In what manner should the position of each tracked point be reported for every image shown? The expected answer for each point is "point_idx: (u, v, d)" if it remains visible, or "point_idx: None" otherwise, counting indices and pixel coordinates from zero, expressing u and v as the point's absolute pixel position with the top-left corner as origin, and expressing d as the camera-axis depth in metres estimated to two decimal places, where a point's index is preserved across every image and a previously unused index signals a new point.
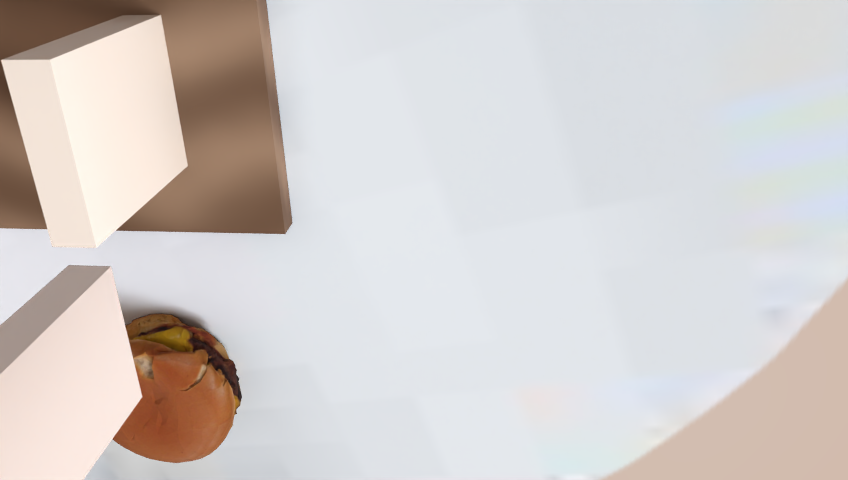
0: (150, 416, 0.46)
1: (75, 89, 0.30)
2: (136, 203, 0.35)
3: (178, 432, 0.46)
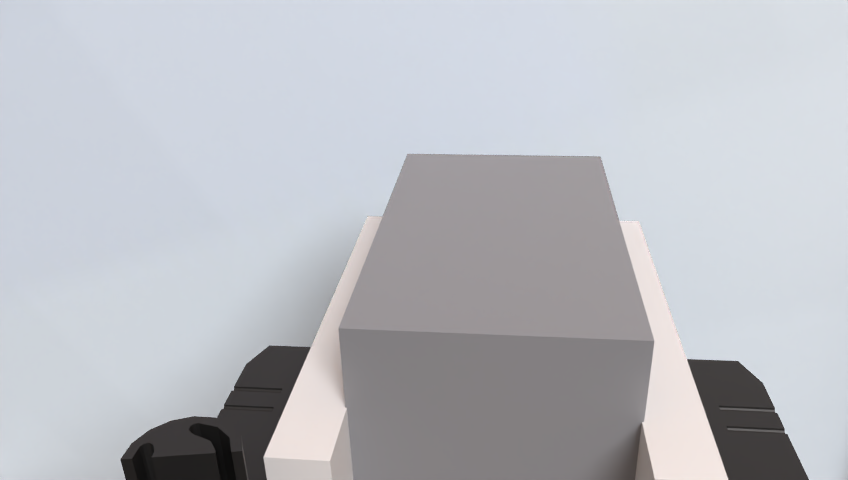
0: None
1: None
2: None
3: None
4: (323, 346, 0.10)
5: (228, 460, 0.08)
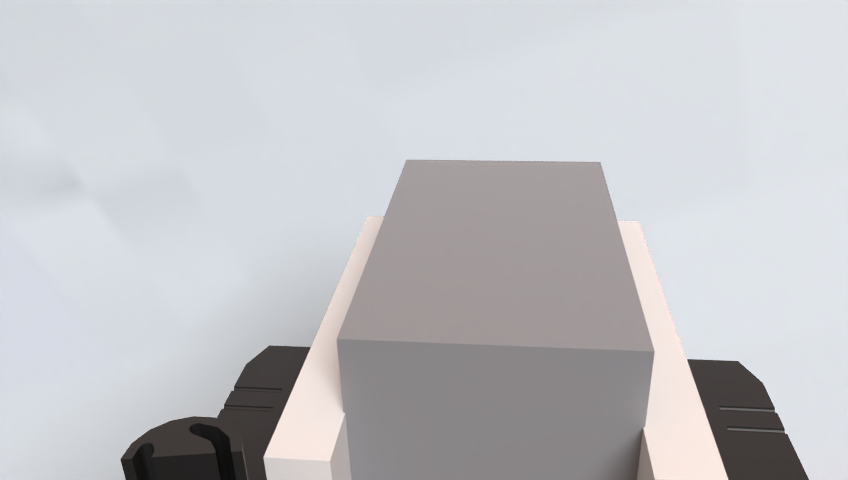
0: None
1: None
2: None
3: None
4: (323, 346, 0.10)
5: (228, 460, 0.08)
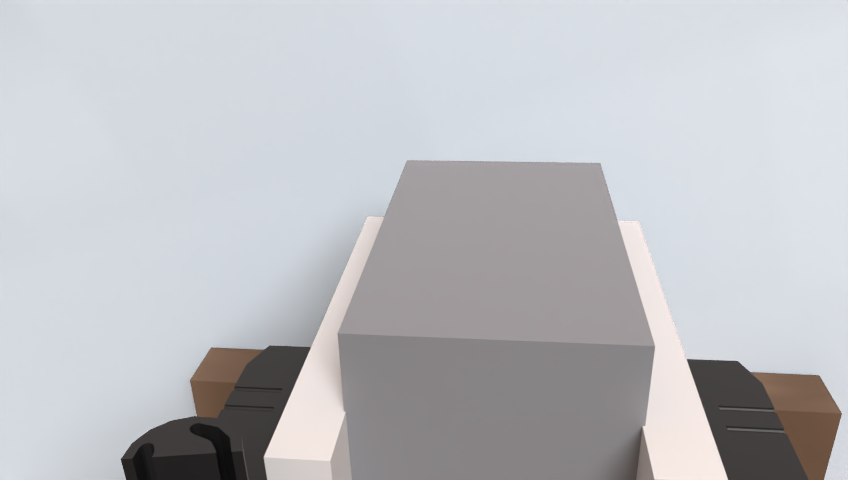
0: None
1: None
2: None
3: None
4: (323, 346, 0.10)
5: (228, 460, 0.08)
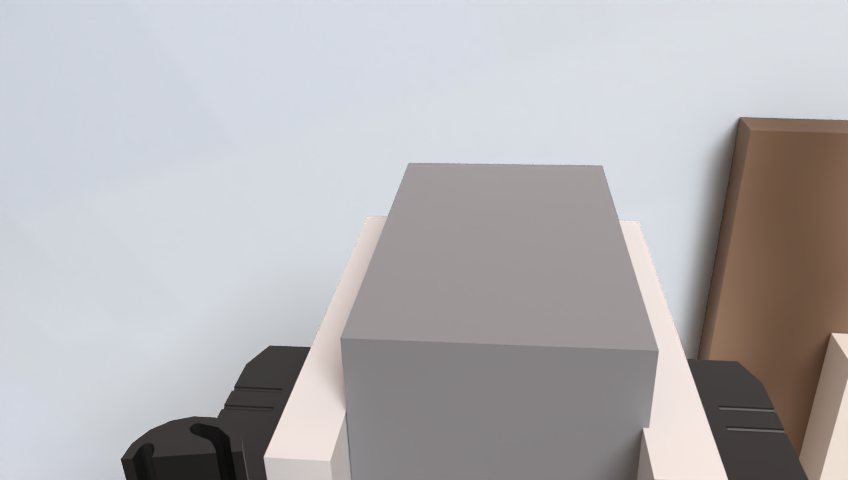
0: None
1: None
2: None
3: None
4: (323, 346, 0.10)
5: (229, 460, 0.08)
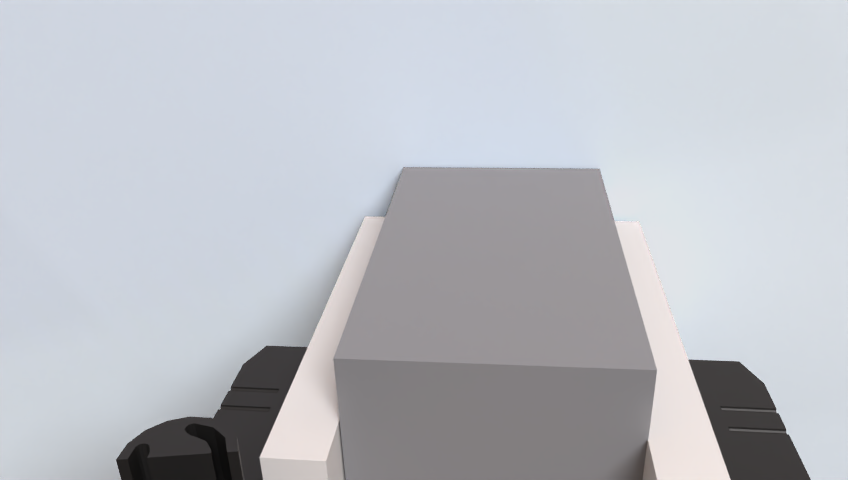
0: None
1: None
2: None
3: None
4: (320, 346, 0.10)
5: (224, 460, 0.08)
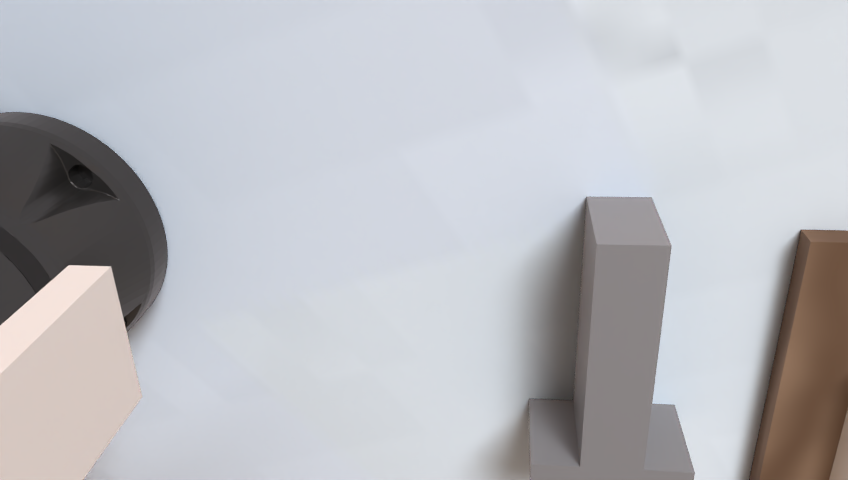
0: None
1: None
2: None
3: None
4: None
5: None
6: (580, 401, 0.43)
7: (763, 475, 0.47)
